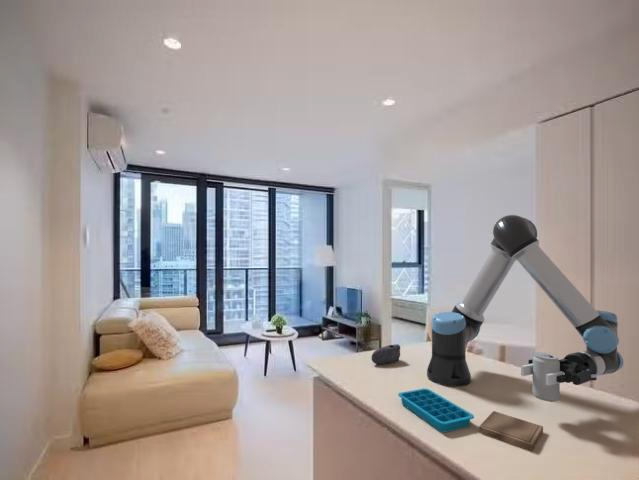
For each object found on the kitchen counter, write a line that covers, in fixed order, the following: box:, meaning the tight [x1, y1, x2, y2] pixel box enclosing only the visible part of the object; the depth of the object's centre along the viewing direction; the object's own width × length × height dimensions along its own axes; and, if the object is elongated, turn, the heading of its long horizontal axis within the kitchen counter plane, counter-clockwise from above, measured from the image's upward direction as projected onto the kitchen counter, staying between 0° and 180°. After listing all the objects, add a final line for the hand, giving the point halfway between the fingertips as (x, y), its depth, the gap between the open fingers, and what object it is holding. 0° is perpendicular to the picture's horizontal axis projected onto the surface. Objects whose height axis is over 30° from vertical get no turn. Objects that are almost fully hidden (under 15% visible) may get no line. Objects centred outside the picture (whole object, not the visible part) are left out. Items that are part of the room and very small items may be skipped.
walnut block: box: [478, 410, 544, 452], centre depth 89 cm, size 12×12×2 cm
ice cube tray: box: [397, 388, 475, 433], centre depth 99 cm, size 12×20×3 cm, turn 22°
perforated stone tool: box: [371, 343, 401, 365], centre depth 143 cm, size 15×5×7 cm, turn 116°
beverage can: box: [531, 352, 561, 403], centre depth 96 cm, size 6×6×12 cm
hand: (534, 375), depth 94 cm, fingers closed on beverage can, 6 cm apart
